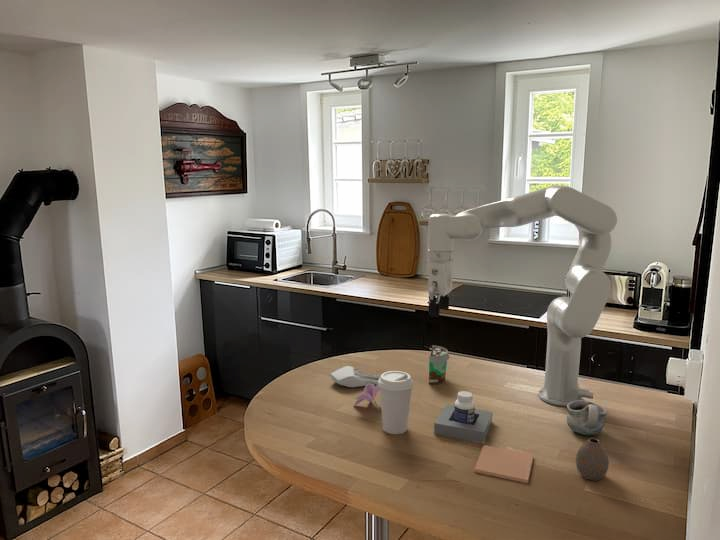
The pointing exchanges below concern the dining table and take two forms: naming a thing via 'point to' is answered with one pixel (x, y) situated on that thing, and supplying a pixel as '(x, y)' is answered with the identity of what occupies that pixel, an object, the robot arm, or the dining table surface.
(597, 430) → the mug
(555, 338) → the robot arm
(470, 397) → the pill bottle
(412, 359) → the dining table surface
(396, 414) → the coffee cup
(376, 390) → the lily
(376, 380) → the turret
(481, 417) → the bottle holder
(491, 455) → the terracotta tile
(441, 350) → the food container
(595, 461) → the vase
